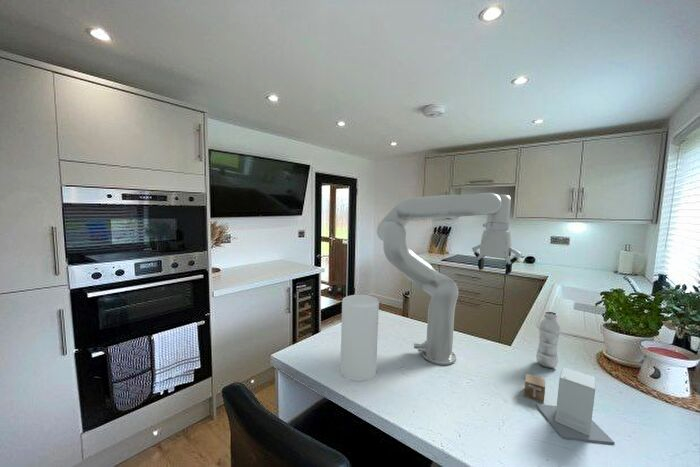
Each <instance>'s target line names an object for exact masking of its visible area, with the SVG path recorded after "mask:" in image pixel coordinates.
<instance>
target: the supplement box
mask: <svg viewBox="0 0 700 467" xmlns="http://www.w3.org/2000/svg"><path fill="white" fill-rule="evenodd" d="M596 380H597V379H596V377H595V376H593V375H589V374H586V373H583V372H580V371H577V370H573V369H570V368H566V367H563V366H562V367H561V371H560V374H559V379H558V389H557V398H556V399H557V400H556V406H557V407H556V416H555V421H556V422H558V423H560V424H563V425H565V426H567V427H570V428H572V429H574V430H576V431H579V432H581V433H583V434H586V435H590V429H591V421H592V420H593V411H594V405H595V396H596V386H597V385H596Z"/></svg>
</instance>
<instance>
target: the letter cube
mask: <svg viewBox="0 0 700 467" xmlns="http://www.w3.org/2000/svg"><path fill="white" fill-rule="evenodd" d="M524 382H525V383H524V394H523V396H524V398H527V399H531V400H534V401H537V402H538V403H543V404H544V403H545V396H546V395H545V394H546V379H545V378H544V377H543V378H542V377H539V376H536V375H533V374H529V373H525V381H524Z"/></svg>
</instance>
